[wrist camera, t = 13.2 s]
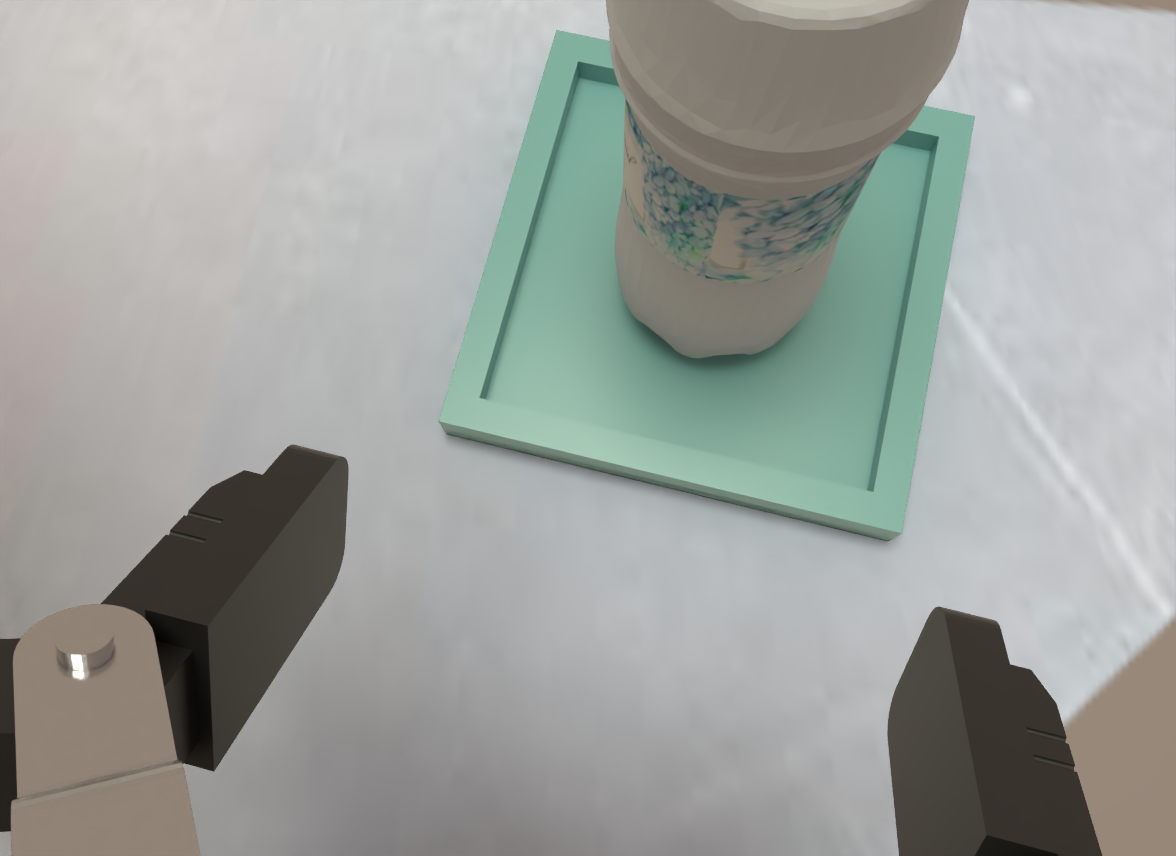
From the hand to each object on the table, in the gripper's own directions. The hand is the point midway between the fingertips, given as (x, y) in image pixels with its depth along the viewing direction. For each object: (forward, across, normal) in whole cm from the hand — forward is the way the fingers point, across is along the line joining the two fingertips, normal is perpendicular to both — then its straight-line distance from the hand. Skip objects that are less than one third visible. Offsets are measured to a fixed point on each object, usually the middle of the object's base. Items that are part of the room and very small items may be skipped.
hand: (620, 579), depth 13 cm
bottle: (+20, 0, +3) cm, 20 cm away
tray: (+20, 0, +4) cm, 21 cm away
